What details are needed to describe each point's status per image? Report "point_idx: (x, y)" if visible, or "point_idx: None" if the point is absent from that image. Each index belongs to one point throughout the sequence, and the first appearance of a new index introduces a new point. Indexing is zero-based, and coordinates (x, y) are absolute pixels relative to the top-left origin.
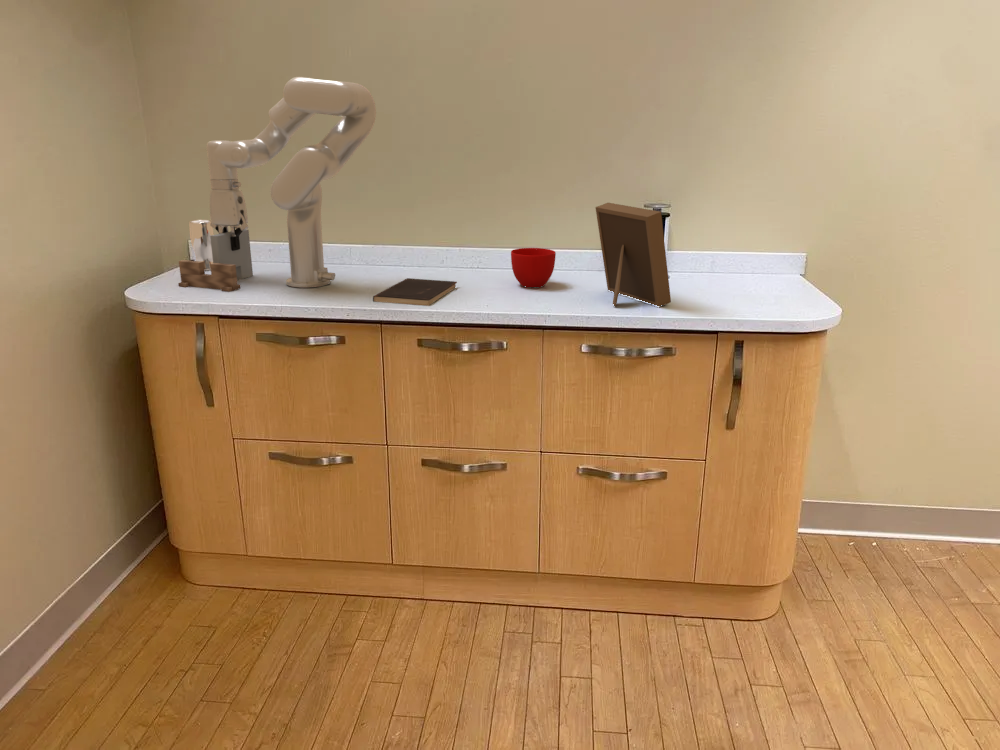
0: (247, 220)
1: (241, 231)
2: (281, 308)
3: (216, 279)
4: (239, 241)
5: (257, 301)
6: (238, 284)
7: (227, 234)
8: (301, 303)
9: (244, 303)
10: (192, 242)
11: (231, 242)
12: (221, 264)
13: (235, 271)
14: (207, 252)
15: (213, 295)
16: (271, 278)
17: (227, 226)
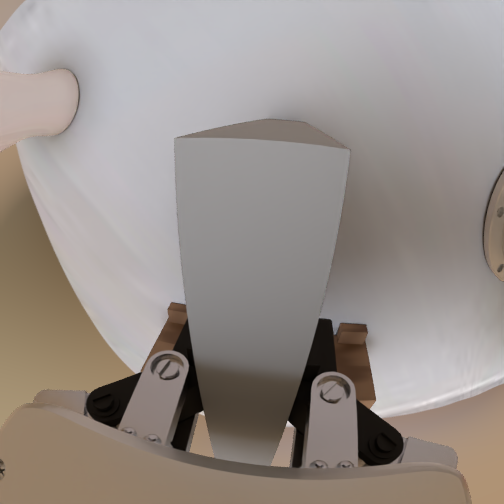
0: (466, 498)
1: (380, 429)
2: (470, 396)
3: None
4: (333, 345)
5: (434, 389)
6: (361, 332)
7: (276, 446)
8: (499, 368)
9: (413, 403)
10: None
11: None
12: None
13: (371, 382)
14: (24, 120)
15: None
16: (411, 156)
17: (169, 435)
